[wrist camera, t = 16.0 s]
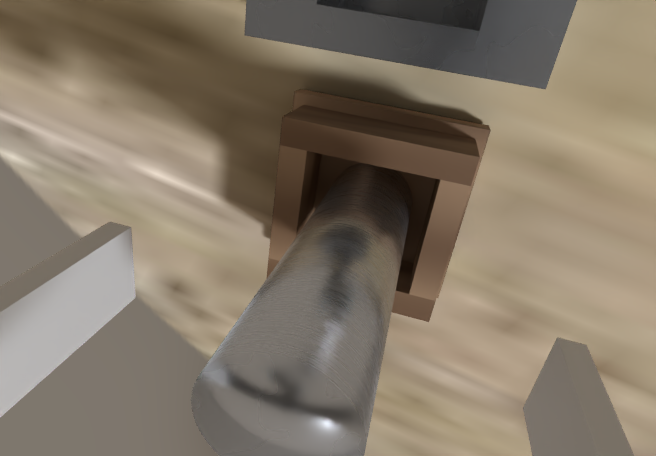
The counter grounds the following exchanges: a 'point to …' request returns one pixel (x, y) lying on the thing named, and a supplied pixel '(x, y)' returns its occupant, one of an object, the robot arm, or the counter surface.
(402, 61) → the chuck block
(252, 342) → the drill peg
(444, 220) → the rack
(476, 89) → the counter surface
